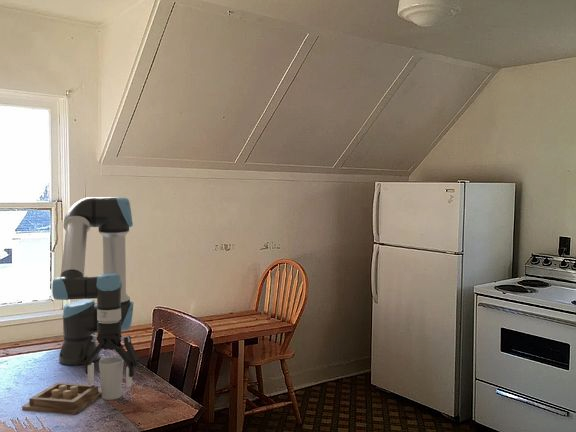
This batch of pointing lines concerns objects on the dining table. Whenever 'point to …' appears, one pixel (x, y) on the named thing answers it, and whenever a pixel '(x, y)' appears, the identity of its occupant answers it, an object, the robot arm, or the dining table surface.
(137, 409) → the dining table surface
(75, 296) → the robot arm
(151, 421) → the dining table surface
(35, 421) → the dining table surface
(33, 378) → the dining table surface
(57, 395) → the peg stand
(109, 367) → the cup
